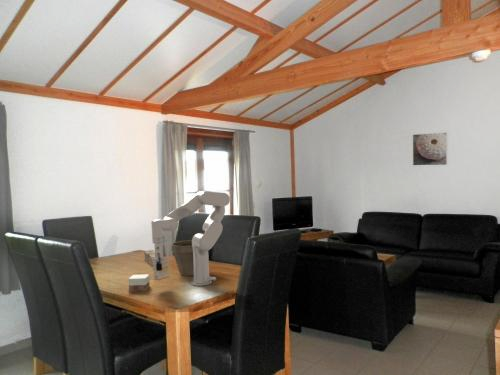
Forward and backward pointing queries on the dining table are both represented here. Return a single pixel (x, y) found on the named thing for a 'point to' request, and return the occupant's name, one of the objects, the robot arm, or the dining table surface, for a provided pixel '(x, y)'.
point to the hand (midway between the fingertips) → (160, 268)
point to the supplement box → (165, 269)
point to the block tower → (149, 256)
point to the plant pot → (184, 257)
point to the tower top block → (139, 279)
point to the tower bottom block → (138, 287)
